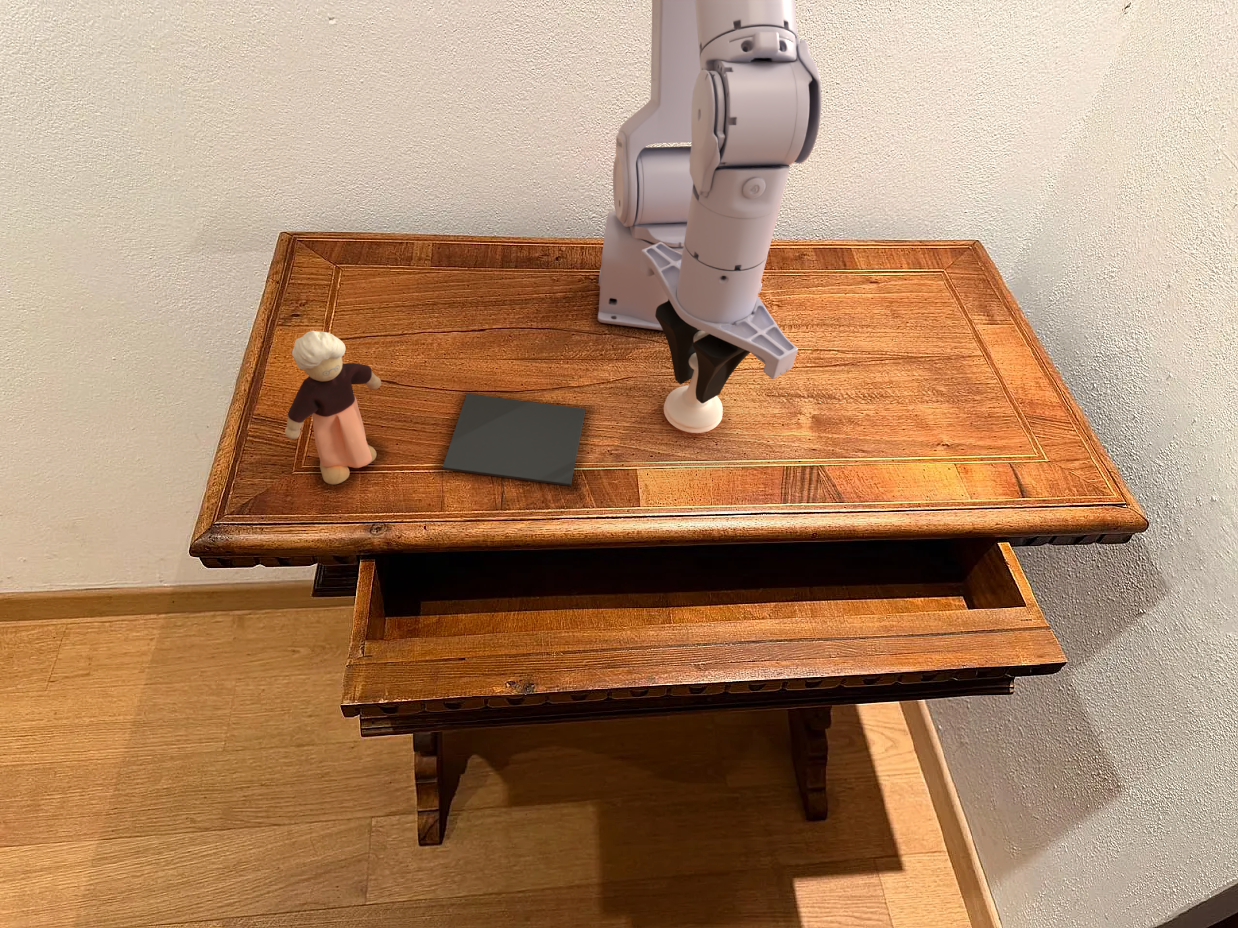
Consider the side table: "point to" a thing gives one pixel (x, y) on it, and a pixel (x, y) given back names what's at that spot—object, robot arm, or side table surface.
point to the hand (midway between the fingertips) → (697, 386)
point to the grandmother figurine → (331, 404)
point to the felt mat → (516, 440)
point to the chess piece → (692, 404)
